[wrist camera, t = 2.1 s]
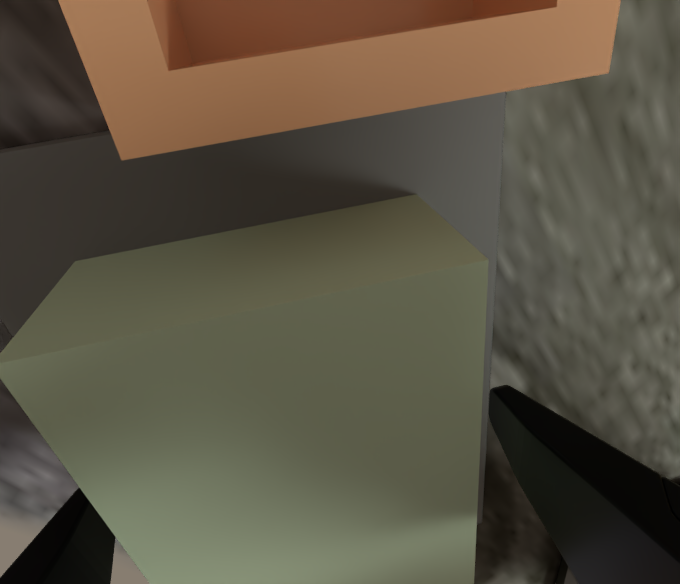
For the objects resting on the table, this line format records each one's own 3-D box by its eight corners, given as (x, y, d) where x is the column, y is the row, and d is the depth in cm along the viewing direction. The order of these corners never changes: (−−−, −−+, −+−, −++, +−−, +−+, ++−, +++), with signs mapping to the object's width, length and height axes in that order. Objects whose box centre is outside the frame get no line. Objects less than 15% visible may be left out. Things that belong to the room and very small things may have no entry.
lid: (431, 500, 14) (473, 606, 11) (224, 553, 13) (218, 678, 10) (416, 193, 8) (488, 259, 6) (75, 261, 8) (-10, 365, 5)
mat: (475, 509, 15) (482, 522, 15) (189, 584, 14) (188, 600, 14) (493, 63, 8) (507, 65, 8) (-77, 162, 7) (-99, 170, 7)
